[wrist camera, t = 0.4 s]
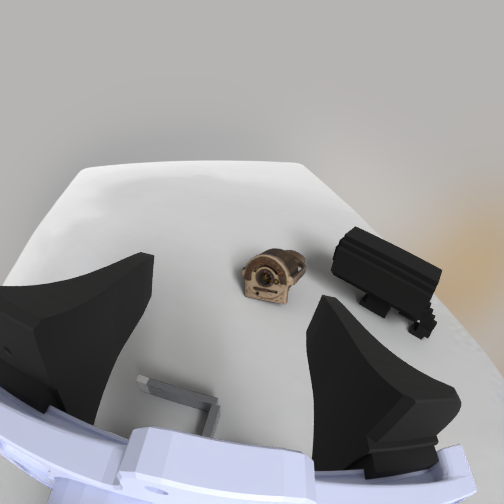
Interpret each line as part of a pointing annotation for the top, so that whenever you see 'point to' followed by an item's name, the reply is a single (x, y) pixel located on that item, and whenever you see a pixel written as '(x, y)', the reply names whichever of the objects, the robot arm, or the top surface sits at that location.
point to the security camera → (388, 278)
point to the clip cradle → (184, 400)
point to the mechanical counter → (273, 274)
